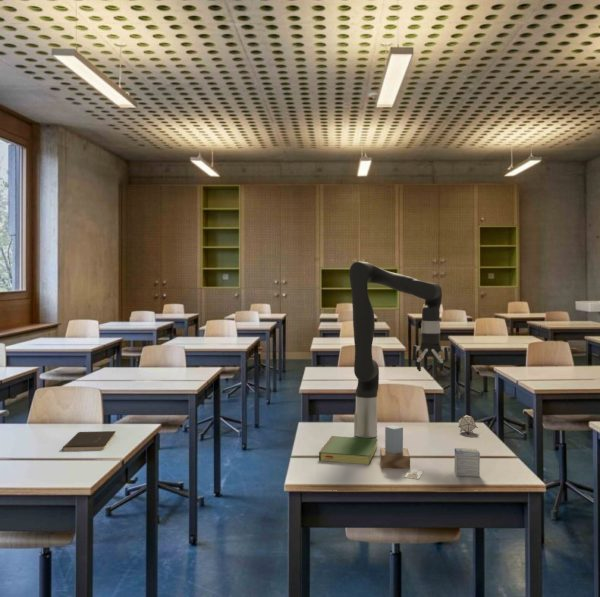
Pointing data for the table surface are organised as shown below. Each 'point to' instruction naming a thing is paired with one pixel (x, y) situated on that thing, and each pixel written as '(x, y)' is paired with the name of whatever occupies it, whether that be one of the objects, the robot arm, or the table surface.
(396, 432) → the top brick
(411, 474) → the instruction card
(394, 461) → the base brick
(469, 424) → the game die
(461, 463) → the medicine box
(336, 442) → the hardcover book
